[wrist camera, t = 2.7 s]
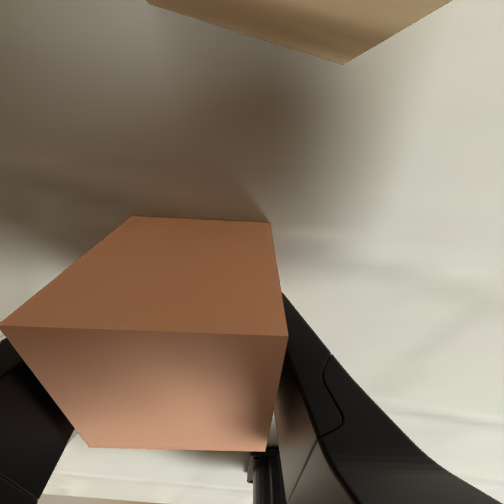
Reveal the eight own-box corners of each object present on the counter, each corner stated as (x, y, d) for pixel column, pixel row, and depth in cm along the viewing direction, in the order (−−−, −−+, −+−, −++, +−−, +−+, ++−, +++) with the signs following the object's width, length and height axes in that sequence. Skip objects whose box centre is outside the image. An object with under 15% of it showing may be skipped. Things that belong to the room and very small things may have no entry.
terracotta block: (260, 319, 11) (265, 452, 7) (154, 315, 11) (89, 447, 6) (269, 222, 8) (288, 335, 4) (131, 215, 8) (-3, 325, 4)
